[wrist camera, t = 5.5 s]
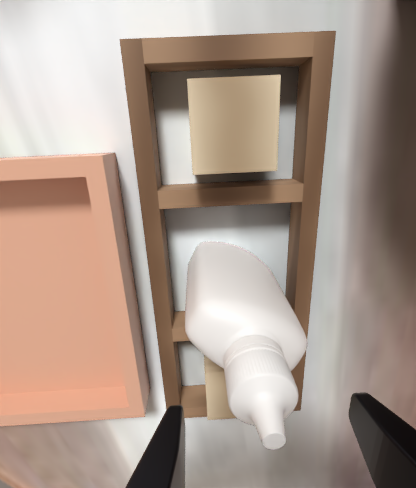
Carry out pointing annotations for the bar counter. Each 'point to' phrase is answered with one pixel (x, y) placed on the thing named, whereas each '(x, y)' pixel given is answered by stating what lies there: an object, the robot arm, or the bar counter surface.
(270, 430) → the eye dropper bottle
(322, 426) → the bar counter surface
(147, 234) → the frame
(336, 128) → the bar counter surface
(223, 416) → the block
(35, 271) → the tray
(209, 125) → the block
